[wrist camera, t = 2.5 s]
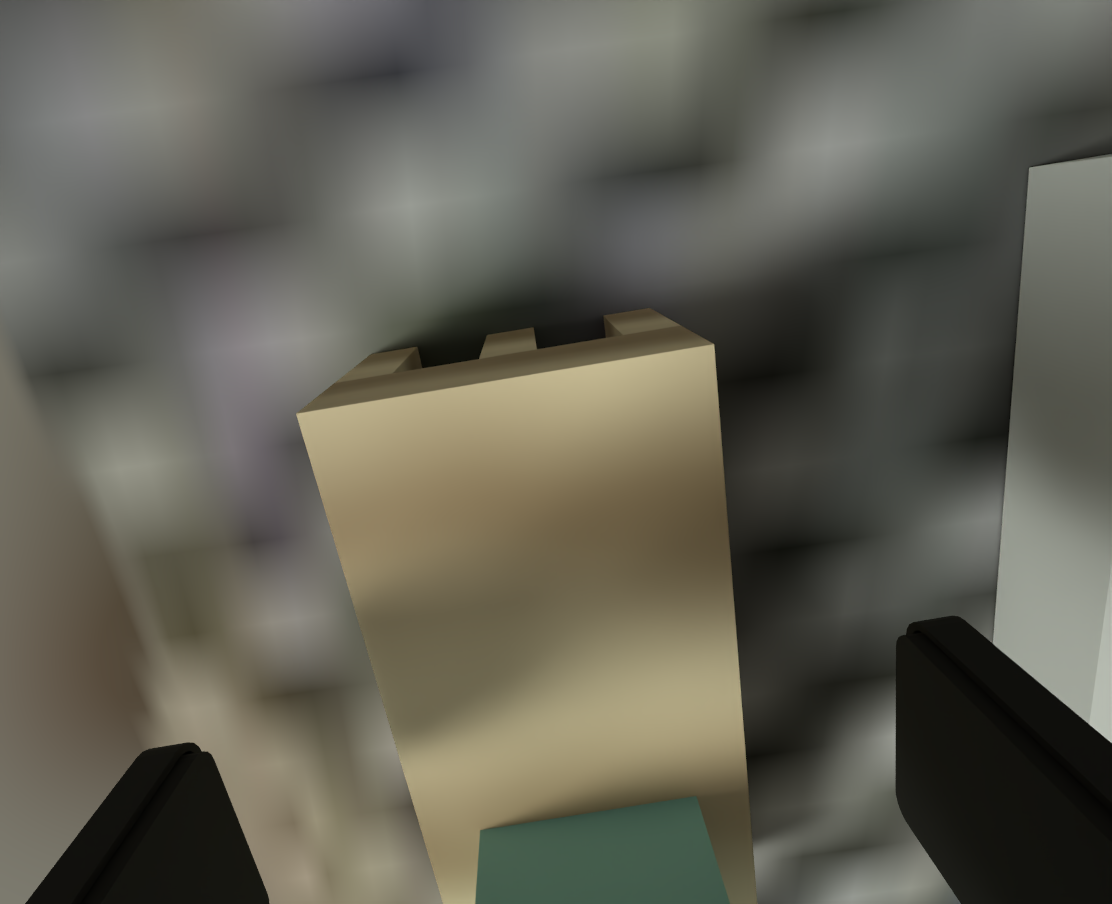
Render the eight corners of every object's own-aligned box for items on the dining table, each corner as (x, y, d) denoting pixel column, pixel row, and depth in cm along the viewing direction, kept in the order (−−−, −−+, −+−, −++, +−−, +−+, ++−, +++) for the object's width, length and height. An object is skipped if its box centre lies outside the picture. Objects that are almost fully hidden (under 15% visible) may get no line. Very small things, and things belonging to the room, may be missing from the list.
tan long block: (373, 352, 14) (296, 413, 9) (648, 306, 14) (714, 343, 9) (506, 884, 19) (502, 1100, 14) (706, 851, 19) (768, 1055, 14)
